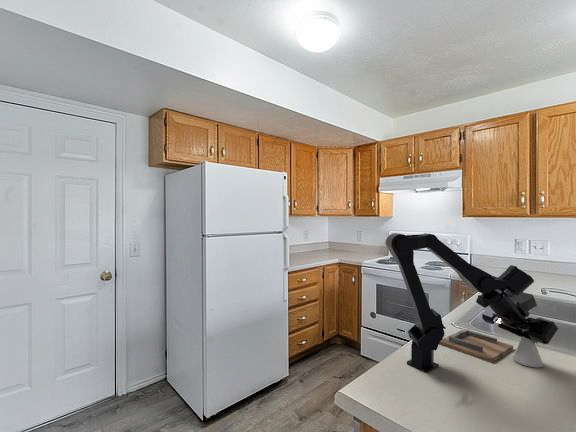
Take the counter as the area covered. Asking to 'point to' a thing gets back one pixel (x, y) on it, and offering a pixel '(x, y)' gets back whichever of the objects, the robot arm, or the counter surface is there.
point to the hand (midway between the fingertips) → (531, 339)
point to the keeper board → (477, 345)
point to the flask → (527, 353)
